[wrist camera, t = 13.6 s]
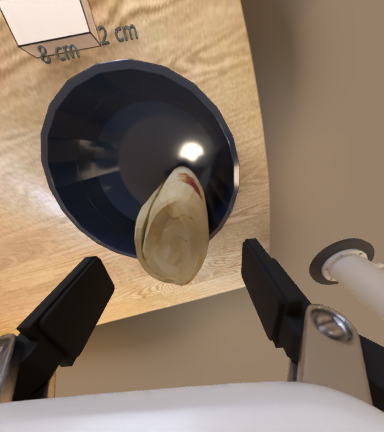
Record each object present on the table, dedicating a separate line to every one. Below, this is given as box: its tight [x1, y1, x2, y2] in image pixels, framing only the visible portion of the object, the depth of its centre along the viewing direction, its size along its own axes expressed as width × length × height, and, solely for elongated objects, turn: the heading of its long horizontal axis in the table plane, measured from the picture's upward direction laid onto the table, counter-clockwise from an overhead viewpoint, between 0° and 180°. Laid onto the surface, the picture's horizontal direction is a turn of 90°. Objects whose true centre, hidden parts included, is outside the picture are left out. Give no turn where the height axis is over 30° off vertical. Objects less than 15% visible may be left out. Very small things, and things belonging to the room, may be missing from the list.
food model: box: [134, 166, 209, 286], centre depth 19 cm, size 10×7×20 cm
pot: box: [41, 59, 239, 258], centre depth 23 cm, size 24×24×10 cm
